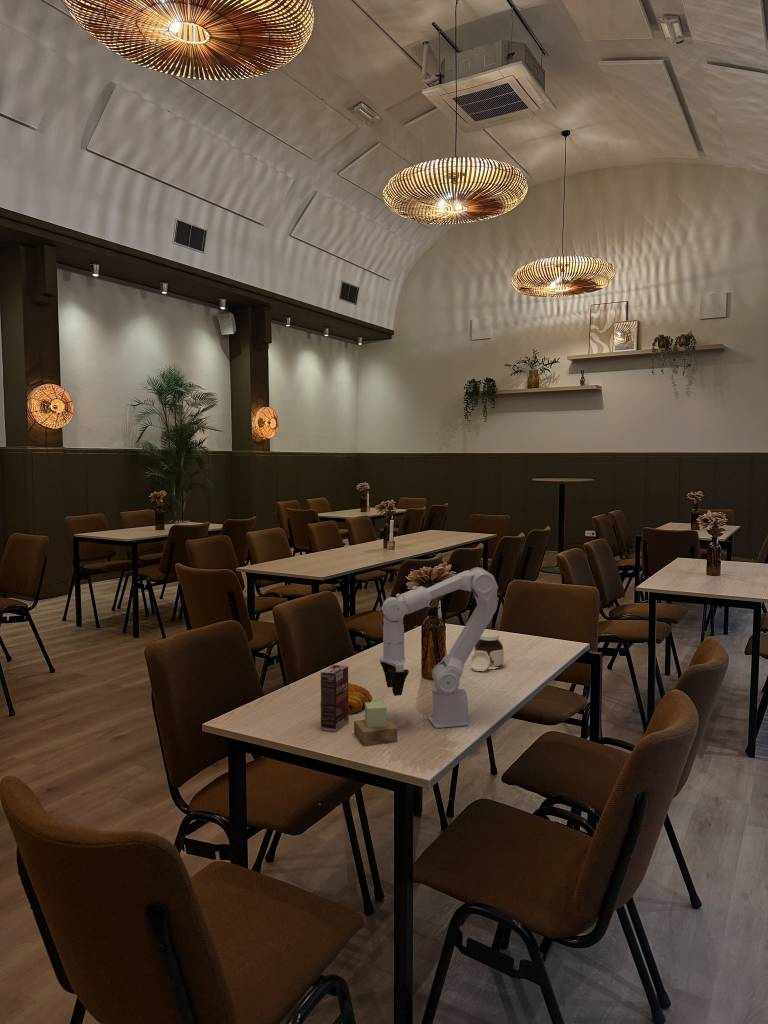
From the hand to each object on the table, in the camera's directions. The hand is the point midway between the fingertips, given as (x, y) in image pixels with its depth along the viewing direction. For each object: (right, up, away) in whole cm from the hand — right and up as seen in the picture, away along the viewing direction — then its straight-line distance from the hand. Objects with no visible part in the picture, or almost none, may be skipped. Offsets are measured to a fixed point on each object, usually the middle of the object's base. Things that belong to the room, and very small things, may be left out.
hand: (394, 690), depth 197 cm
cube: (-5, -6, -9) cm, 12 cm away
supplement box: (-16, -10, 0) cm, 19 cm away
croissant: (-14, -9, +16) cm, 23 cm away
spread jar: (+33, -6, +55) cm, 64 cm away
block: (-5, -10, -9) cm, 15 cm away
